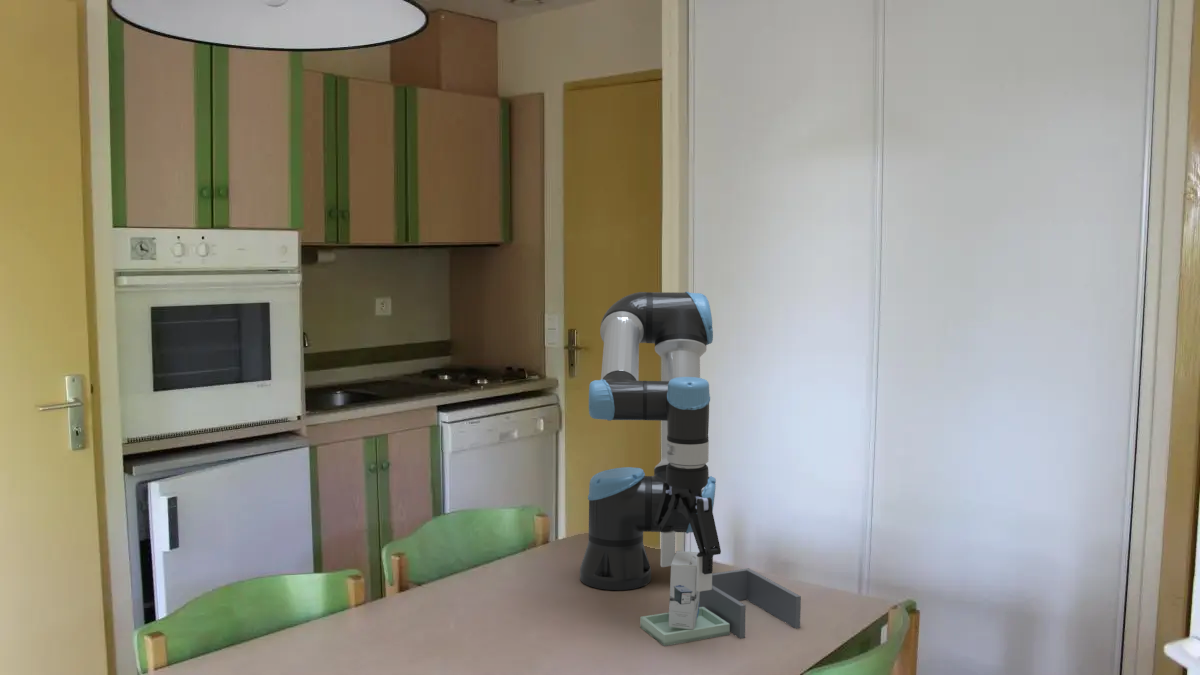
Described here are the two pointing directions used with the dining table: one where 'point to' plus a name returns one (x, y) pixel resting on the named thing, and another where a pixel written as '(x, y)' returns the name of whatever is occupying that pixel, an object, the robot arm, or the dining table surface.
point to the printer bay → (749, 598)
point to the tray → (704, 629)
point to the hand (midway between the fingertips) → (685, 577)
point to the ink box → (683, 591)
